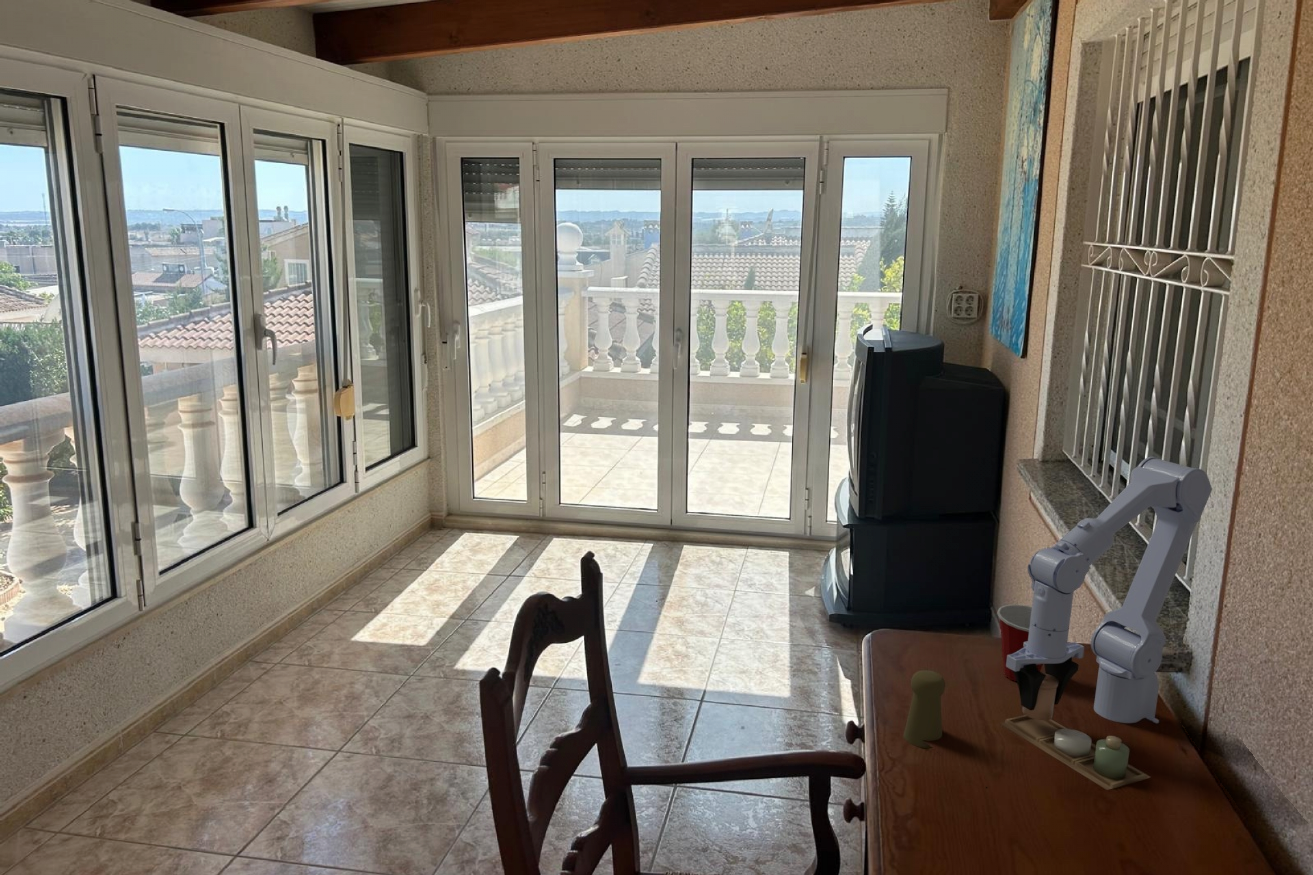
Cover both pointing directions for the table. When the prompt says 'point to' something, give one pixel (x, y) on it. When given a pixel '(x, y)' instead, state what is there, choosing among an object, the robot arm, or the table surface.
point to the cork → (925, 709)
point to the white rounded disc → (1072, 742)
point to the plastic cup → (1014, 632)
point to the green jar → (1111, 758)
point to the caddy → (1043, 738)
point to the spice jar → (1044, 700)
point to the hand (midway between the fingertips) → (1039, 704)
